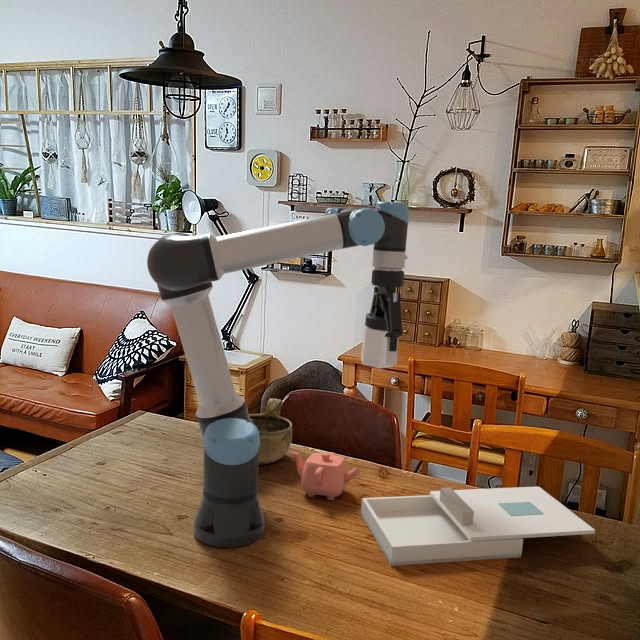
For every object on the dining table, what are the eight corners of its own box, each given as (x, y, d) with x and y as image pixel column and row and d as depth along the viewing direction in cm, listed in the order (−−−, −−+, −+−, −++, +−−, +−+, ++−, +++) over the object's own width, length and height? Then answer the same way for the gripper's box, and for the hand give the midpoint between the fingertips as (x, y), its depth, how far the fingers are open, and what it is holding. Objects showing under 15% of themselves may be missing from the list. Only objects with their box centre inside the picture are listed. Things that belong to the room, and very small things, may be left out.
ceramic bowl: (249, 443, 189) (251, 393, 187) (303, 452, 184) (306, 401, 182) (213, 469, 168) (214, 414, 166) (273, 481, 163) (275, 424, 161)
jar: (372, 370, 152) (378, 321, 150) (353, 359, 159) (358, 313, 156) (401, 366, 157) (407, 319, 154) (381, 356, 164) (387, 311, 161)
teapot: (340, 480, 166) (342, 442, 164) (360, 499, 155) (363, 459, 154) (288, 486, 160) (289, 448, 159) (306, 507, 150) (308, 465, 148)
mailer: (391, 565, 126) (392, 546, 125) (360, 514, 147) (362, 498, 146) (521, 557, 132) (523, 538, 131) (474, 509, 153) (475, 493, 152)
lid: (470, 541, 129) (472, 523, 128) (429, 494, 150) (431, 478, 149) (594, 533, 134) (596, 516, 134) (538, 489, 156) (540, 474, 155)
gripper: (421, 274, 139) (414, 370, 142) (388, 265, 163) (383, 347, 166) (387, 273, 137) (381, 370, 140) (360, 264, 161) (355, 347, 165)
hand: (382, 358), depth 153 cm, fingers open, 13 cm apart
